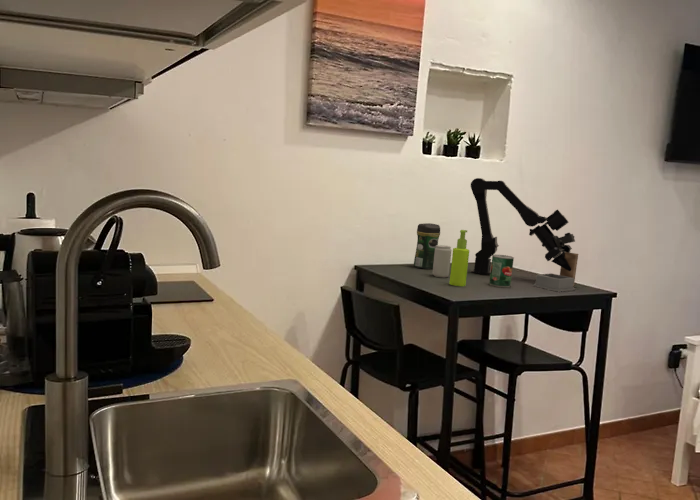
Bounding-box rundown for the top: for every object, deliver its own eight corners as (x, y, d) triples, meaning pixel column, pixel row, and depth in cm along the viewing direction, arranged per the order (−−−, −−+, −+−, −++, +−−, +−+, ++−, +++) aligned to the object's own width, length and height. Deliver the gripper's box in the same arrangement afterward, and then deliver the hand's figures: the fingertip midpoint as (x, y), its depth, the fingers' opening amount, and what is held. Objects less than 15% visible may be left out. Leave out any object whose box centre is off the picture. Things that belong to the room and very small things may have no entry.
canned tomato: (509, 288, 236) (513, 258, 234) (488, 285, 238) (491, 256, 236) (510, 284, 243) (514, 256, 242) (489, 282, 245) (493, 253, 244)
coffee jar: (427, 265, 273) (432, 222, 271) (439, 269, 267) (444, 224, 264) (410, 266, 268) (414, 222, 265) (422, 269, 261) (426, 224, 259)
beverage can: (449, 278, 245) (453, 247, 244) (433, 277, 245) (436, 246, 244) (447, 275, 252) (450, 245, 250) (431, 274, 252) (434, 244, 250)
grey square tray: (558, 291, 237) (560, 279, 236) (533, 285, 245) (534, 274, 244) (574, 290, 244) (576, 278, 243) (549, 284, 252) (551, 273, 251)
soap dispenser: (467, 284, 236) (473, 230, 234) (464, 287, 230) (470, 231, 227) (451, 281, 238) (457, 228, 236) (447, 284, 232) (453, 230, 229)
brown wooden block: (558, 285, 251) (562, 252, 249) (560, 284, 254) (565, 251, 253) (571, 287, 248) (575, 254, 247) (573, 286, 252) (578, 253, 250)
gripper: (557, 226, 242) (583, 259, 238) (569, 224, 258) (594, 255, 254) (534, 244, 248) (559, 277, 243) (547, 241, 263) (571, 272, 259)
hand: (572, 269), depth 250 cm, fingers closed on brown wooden block, 4 cm apart
